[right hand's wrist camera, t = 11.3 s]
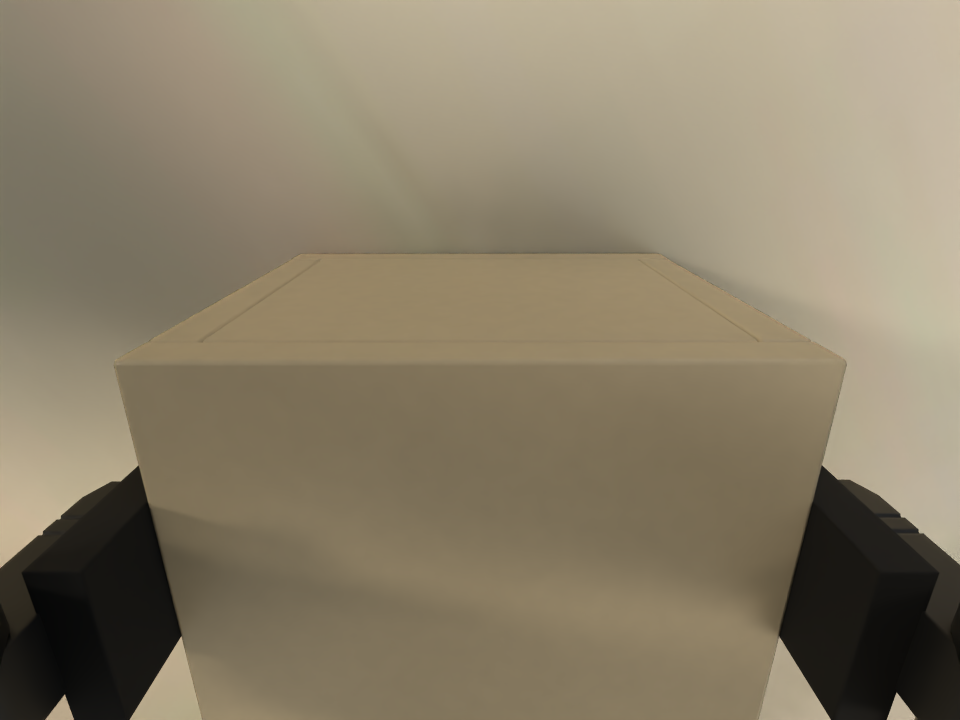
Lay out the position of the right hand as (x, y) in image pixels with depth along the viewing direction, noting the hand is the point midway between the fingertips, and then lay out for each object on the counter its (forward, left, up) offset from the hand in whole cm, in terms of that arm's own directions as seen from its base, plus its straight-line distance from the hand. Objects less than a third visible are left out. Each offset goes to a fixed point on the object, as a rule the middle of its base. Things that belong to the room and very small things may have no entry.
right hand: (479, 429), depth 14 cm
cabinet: (+2, -6, -4) cm, 7 cm away
